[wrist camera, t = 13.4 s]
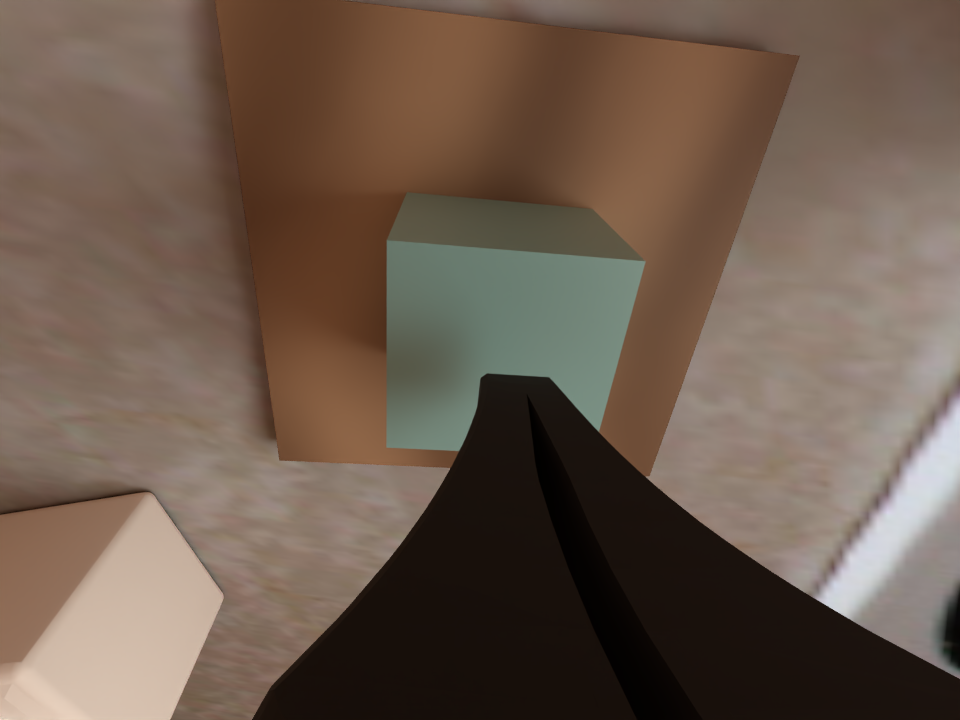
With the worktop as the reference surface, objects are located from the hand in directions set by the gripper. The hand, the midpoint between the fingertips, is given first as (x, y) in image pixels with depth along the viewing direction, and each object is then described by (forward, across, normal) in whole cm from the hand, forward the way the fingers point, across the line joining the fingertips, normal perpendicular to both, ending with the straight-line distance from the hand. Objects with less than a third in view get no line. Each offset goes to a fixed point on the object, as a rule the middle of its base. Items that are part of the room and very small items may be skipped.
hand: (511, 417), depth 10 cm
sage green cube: (+6, 0, 0) cm, 6 cm away
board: (+7, 0, 0) cm, 7 cm away
